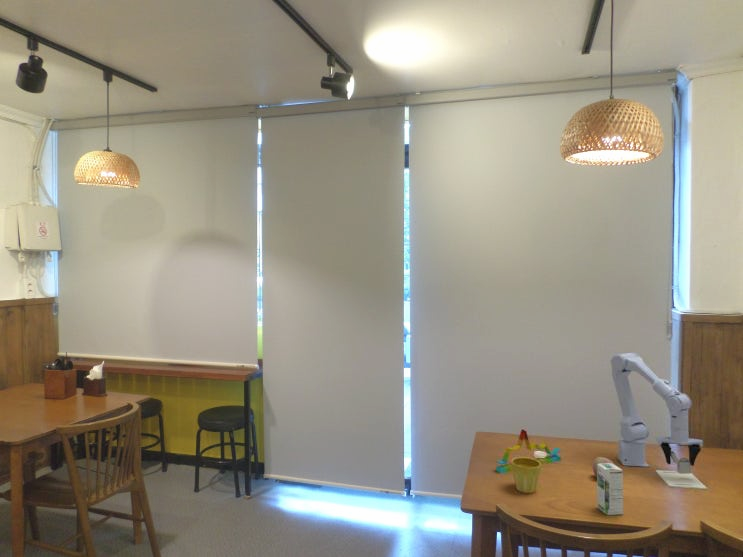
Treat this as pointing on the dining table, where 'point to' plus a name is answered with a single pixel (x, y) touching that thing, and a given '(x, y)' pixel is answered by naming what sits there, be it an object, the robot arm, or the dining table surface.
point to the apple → (599, 461)
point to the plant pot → (525, 473)
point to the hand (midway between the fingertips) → (679, 464)
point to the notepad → (680, 480)
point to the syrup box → (610, 489)
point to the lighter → (681, 464)
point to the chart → (523, 436)
